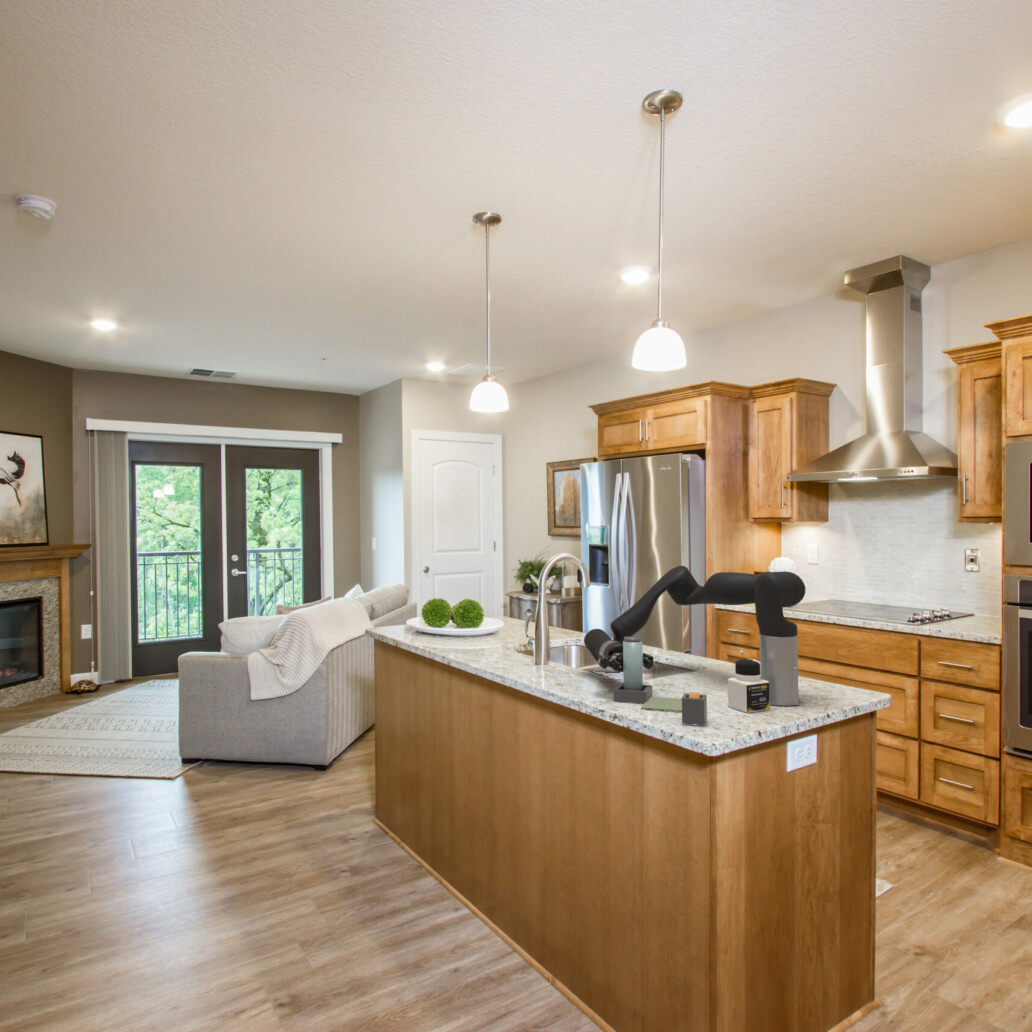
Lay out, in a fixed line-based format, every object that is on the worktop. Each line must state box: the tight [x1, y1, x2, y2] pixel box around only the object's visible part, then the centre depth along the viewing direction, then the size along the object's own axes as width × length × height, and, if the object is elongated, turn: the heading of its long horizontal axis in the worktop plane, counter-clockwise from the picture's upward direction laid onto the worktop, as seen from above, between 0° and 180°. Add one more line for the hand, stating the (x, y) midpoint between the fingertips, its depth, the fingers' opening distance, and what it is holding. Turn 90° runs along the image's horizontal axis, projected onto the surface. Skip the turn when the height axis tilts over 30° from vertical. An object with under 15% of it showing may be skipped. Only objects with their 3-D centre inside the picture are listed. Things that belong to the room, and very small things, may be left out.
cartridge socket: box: [613, 682, 653, 704], centre depth 192 cm, size 8×8×3 cm
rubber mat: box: [640, 696, 682, 713], centre depth 185 cm, size 12×12×1 cm
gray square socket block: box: [681, 693, 708, 726], centre depth 169 cm, size 5×5×6 cm
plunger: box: [688, 691, 700, 699], centre depth 169 cm, size 2×2×6 cm
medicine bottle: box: [727, 658, 771, 714], centre depth 181 cm, size 7×7×12 cm
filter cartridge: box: [622, 636, 644, 691], centre depth 193 cm, size 5×5×16 cm
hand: (634, 666), depth 191 cm, fingers open, 8 cm apart
